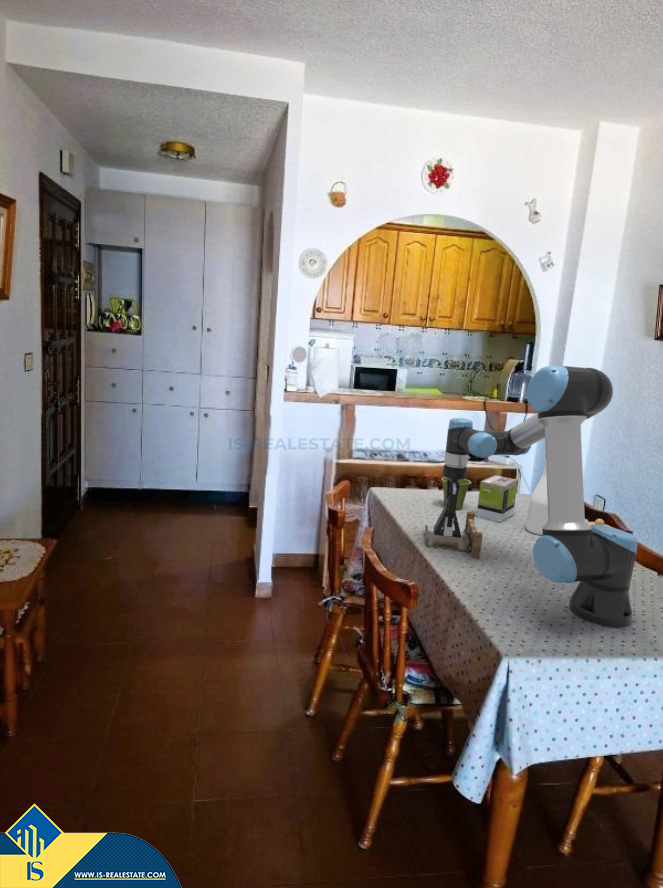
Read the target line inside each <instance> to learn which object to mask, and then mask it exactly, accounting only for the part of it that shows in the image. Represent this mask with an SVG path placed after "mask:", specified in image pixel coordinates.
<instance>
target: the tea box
mask: <svg viewBox="0 0 663 888" xmlns="http://www.w3.org/2000/svg"><path fill="white" fill-rule="evenodd" d="M518 480H519V479H515V478H511V477H504V476H501V475H496V474H494V475H492V476H490V477H488V478H485V479H483V480H481V481H480V485H479V492H478V493H479V494H478V500H477V501H478V502H477V509H476V510H477V511H476V518H479V517H480V518H479V519H483V518H484V520H488V521H491V522H496V523H502V522H503V521H505V520H507V519H509V518H510V517H512V516H513V515H514V514H515V507H516V506H515V505H516V497H517V490H518V489H517V488H518V482H519V481H518Z"/></svg>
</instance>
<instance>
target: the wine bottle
mask: <svg viewBox="0 0 663 888" xmlns="http://www.w3.org/2000/svg"><path fill="white" fill-rule="evenodd" d="M544 458H545V460H544V466H543V472H542V475H541V478H540V479H539V481H538V483H537V484H536V487H535V488H534V491H532V494H531V496H530V499H529V505H528V511H527V518H526V522H525V523H526V524H525V528H526V530H527V531H528V532H529V533H531V534H534V535H538V536H543V533H542V527H543V526H544V525H545V524H546V523H547V522H548V499H547V474H546V454H545V457H544Z"/></svg>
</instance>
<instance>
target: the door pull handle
mask: <svg viewBox="0 0 663 888" xmlns="http://www.w3.org/2000/svg"><path fill="white" fill-rule="evenodd" d="M475 515H476V514H475V511H467V512H466V518H465V525H464V529H465V530H466V531H467V534H468V538H469V541H470V548H469V550H470V549H471V550H470V553H471V554H470V557H471V559H472V558H474V559H473V560H480V557H481V556H480V555H481V550H482V543H483V532H479V531H477V527H476V525H475Z"/></svg>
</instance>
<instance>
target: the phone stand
mask: <svg viewBox="0 0 663 888" xmlns="http://www.w3.org/2000/svg"><path fill="white" fill-rule="evenodd" d="M447 507H448V498H447V499H446V505H445V506H444V507H443V509H442V511H441V512H440V515H439V517H438V518H437V521H436V522H435V524H434V526H433V532H434V535H441V536H444V529H442V527H443V524H444V522H445V519H446V517H444V515H446V514H447ZM455 515H456V516H455V518H454V524H453V532H452V536H449V537H457V538H461V535H462V534H461V529H460V525H459V521H458V516H457V512H456V513H455Z"/></svg>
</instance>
